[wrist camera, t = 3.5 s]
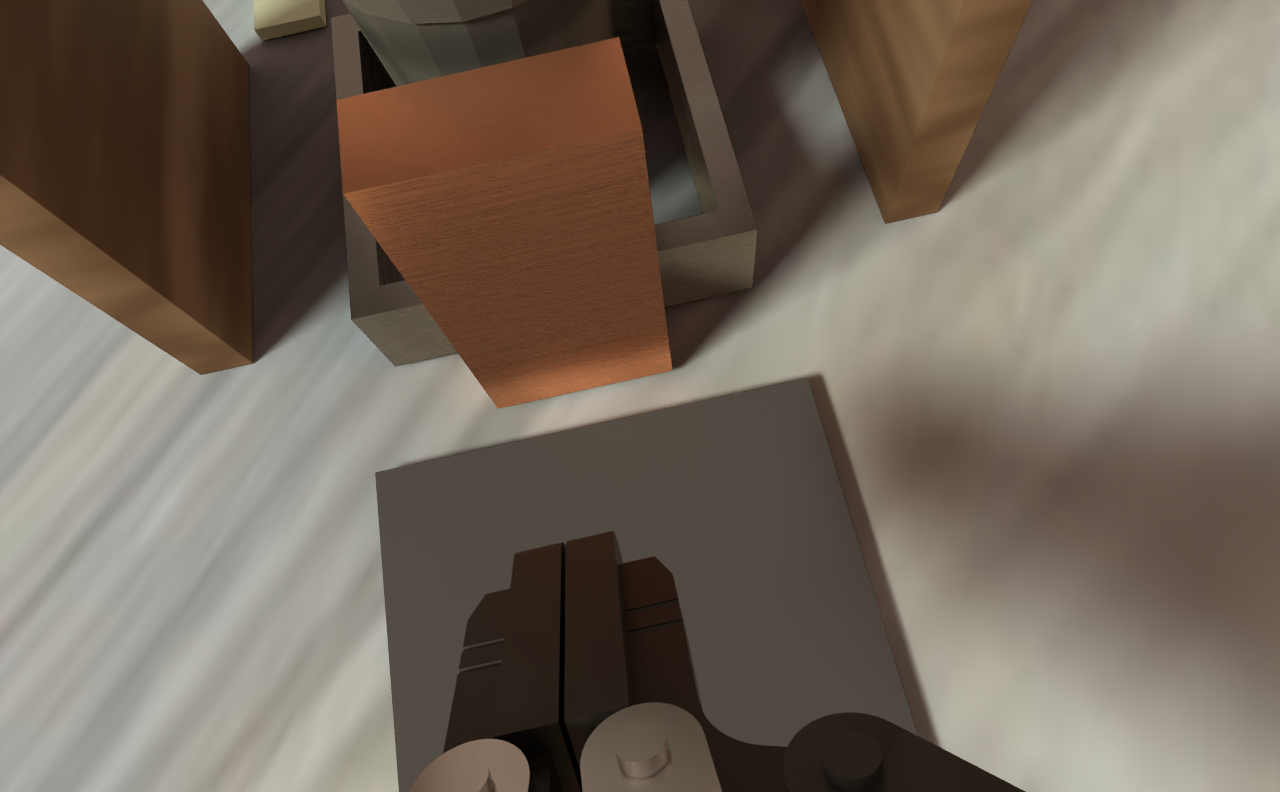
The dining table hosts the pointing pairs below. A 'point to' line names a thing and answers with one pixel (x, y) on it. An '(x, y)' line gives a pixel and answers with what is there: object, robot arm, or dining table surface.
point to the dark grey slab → (645, 527)
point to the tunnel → (220, 143)
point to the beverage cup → (473, 32)
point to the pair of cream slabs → (287, 17)
